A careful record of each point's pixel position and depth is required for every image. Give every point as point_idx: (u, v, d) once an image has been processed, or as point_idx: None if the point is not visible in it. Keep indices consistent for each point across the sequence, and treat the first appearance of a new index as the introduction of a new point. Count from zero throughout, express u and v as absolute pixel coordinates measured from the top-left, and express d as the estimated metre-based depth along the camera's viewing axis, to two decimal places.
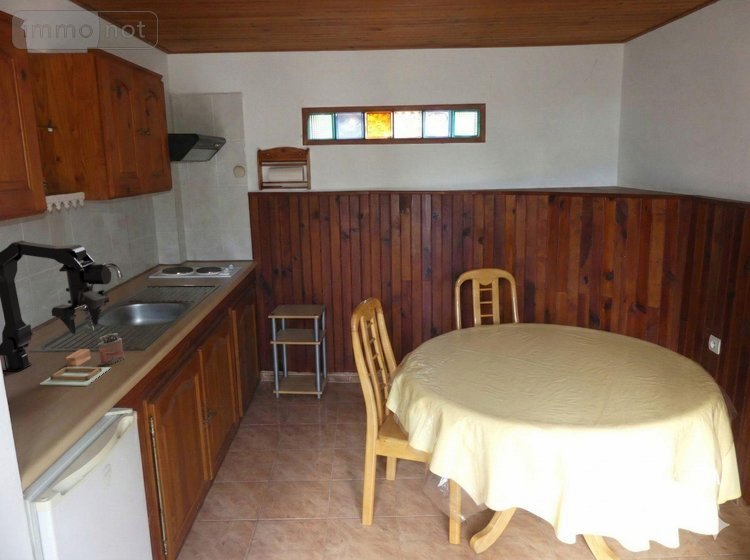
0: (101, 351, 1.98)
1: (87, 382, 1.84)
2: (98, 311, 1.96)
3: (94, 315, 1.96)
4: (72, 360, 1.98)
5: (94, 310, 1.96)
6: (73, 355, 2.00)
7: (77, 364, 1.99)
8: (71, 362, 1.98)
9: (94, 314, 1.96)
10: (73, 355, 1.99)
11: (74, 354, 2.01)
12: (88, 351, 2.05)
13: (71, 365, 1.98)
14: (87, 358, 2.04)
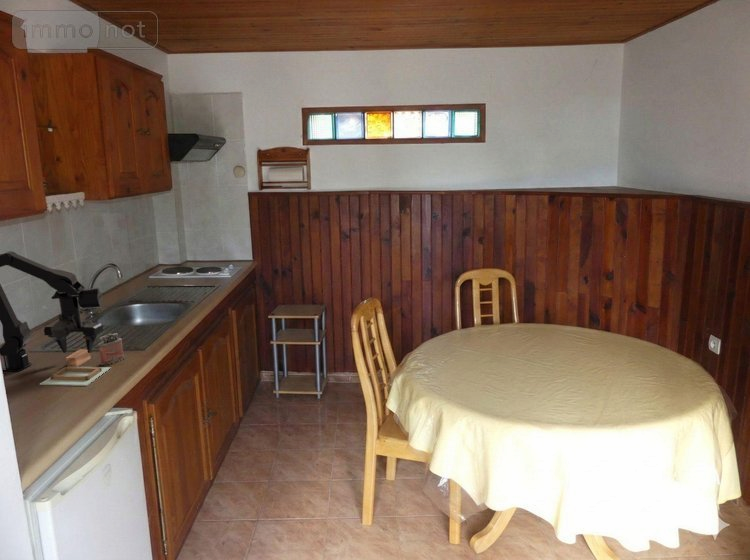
0: (101, 351, 1.98)
1: (87, 382, 1.84)
2: (87, 341, 1.98)
3: None
4: (72, 360, 1.98)
5: None
6: (73, 355, 2.00)
7: (77, 364, 1.99)
8: (71, 362, 1.98)
9: None
10: (73, 356, 1.99)
11: (74, 354, 2.01)
12: None
13: (71, 365, 1.98)
14: (87, 358, 2.04)
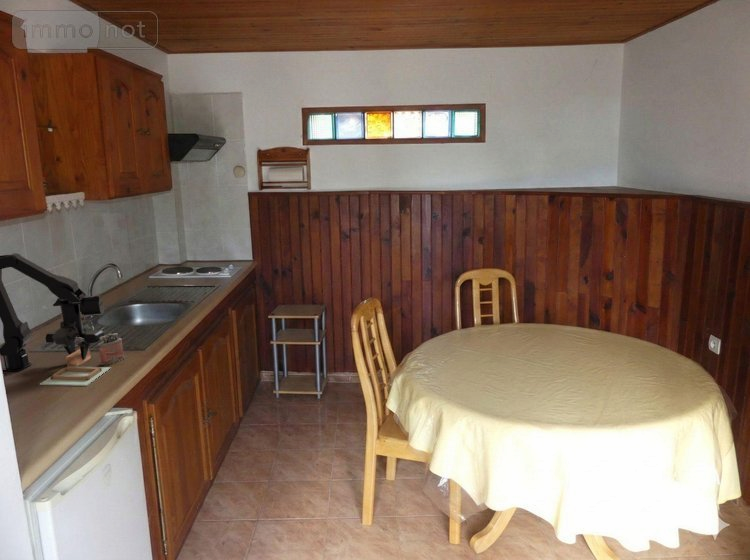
0: (101, 351, 1.98)
1: (87, 382, 1.84)
2: (81, 348, 1.99)
3: None
4: (72, 359, 1.98)
5: None
6: (73, 354, 2.00)
7: (77, 363, 1.99)
8: (71, 361, 1.98)
9: None
10: (73, 355, 1.99)
11: (74, 353, 2.01)
12: (88, 351, 2.05)
13: (71, 364, 1.98)
14: (87, 357, 2.04)
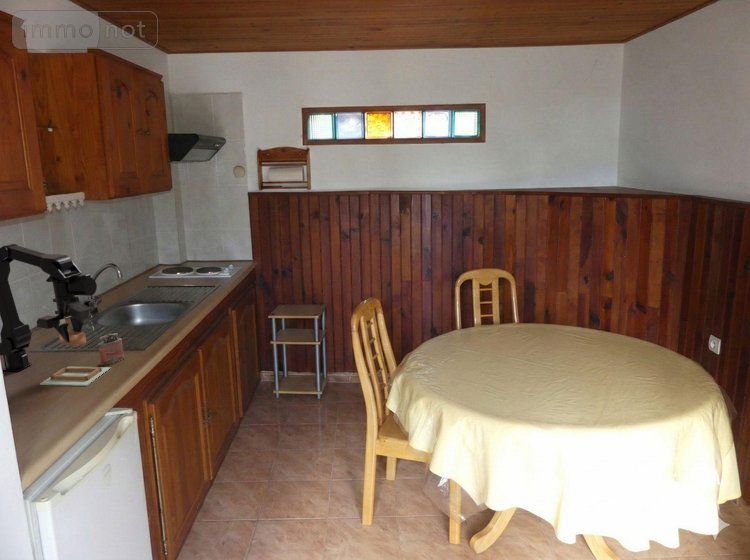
0: (101, 351, 1.98)
1: (87, 382, 1.84)
2: (80, 324, 1.91)
3: (76, 328, 1.92)
4: (81, 336, 1.89)
5: (76, 323, 1.92)
6: (74, 334, 1.89)
7: None
8: (80, 339, 1.89)
9: (76, 327, 1.92)
10: (76, 334, 1.89)
11: (72, 334, 1.89)
12: None
13: (81, 342, 1.89)
14: None
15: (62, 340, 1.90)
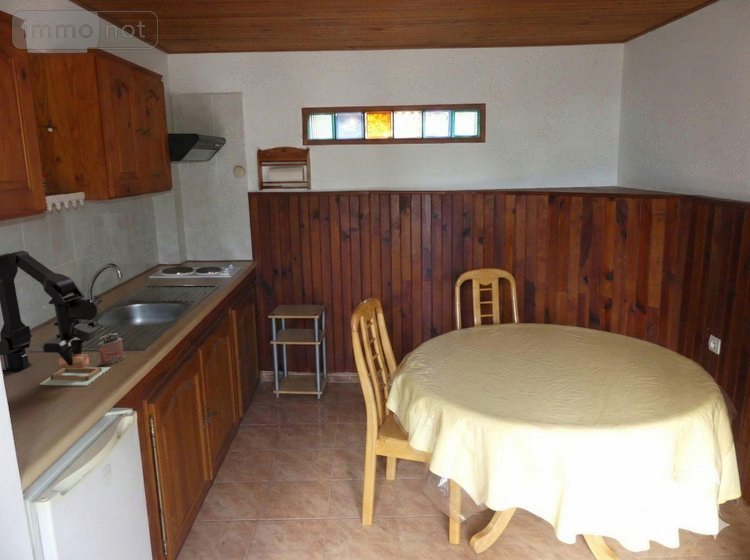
0: (101, 351, 1.98)
1: (87, 382, 1.84)
2: (81, 346, 1.90)
3: (76, 350, 1.90)
4: (85, 358, 1.88)
5: (76, 345, 1.90)
6: (77, 356, 1.88)
7: None
8: (85, 361, 1.88)
9: (76, 349, 1.90)
10: (79, 356, 1.88)
11: (74, 356, 1.88)
12: None
13: (85, 364, 1.88)
14: None
15: (63, 364, 1.87)
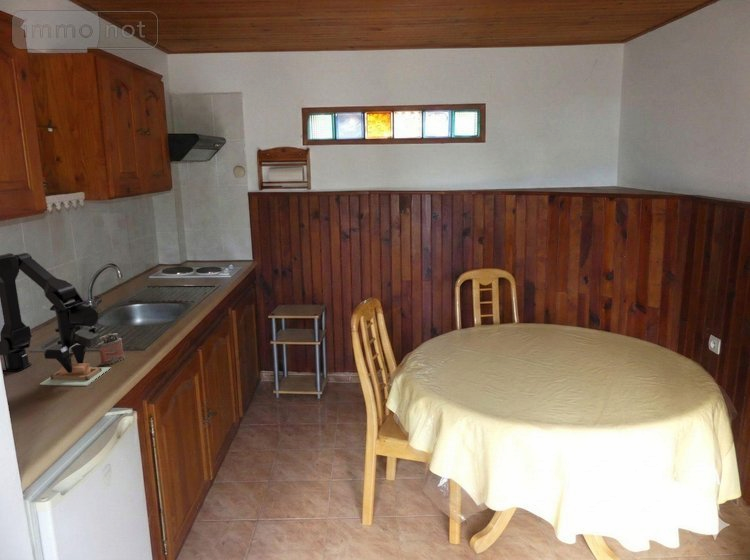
0: (101, 351, 1.98)
1: (87, 382, 1.84)
2: (83, 351, 1.91)
3: (79, 355, 1.91)
4: (87, 367, 1.89)
5: (79, 350, 1.91)
6: (79, 365, 1.88)
7: None
8: (86, 370, 1.89)
9: (79, 354, 1.91)
10: (81, 365, 1.89)
11: (76, 366, 1.88)
12: None
13: (87, 373, 1.89)
14: None
15: (64, 373, 1.88)
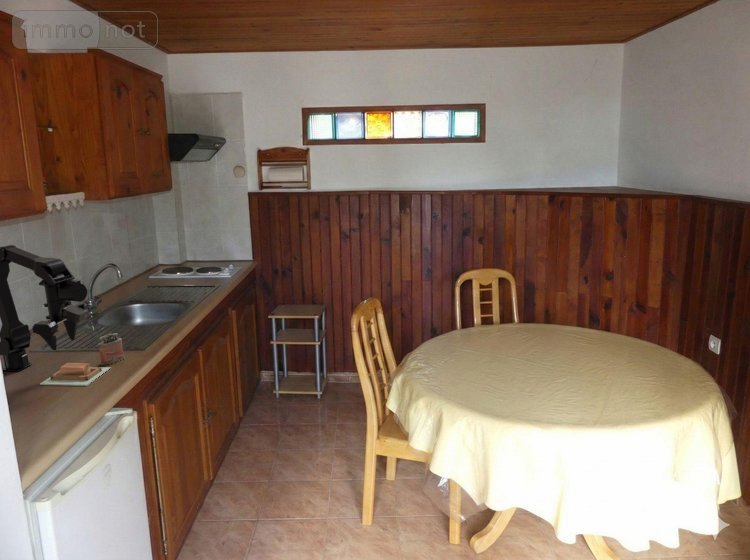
0: (101, 351, 1.98)
1: (87, 382, 1.84)
2: (75, 325, 1.93)
3: (71, 330, 1.92)
4: (87, 367, 1.89)
5: (71, 325, 1.92)
6: (79, 365, 1.88)
7: None
8: (86, 370, 1.89)
9: (71, 329, 1.92)
10: (81, 365, 1.89)
11: (76, 366, 1.88)
12: None
13: (87, 373, 1.89)
14: None
15: (64, 373, 1.88)
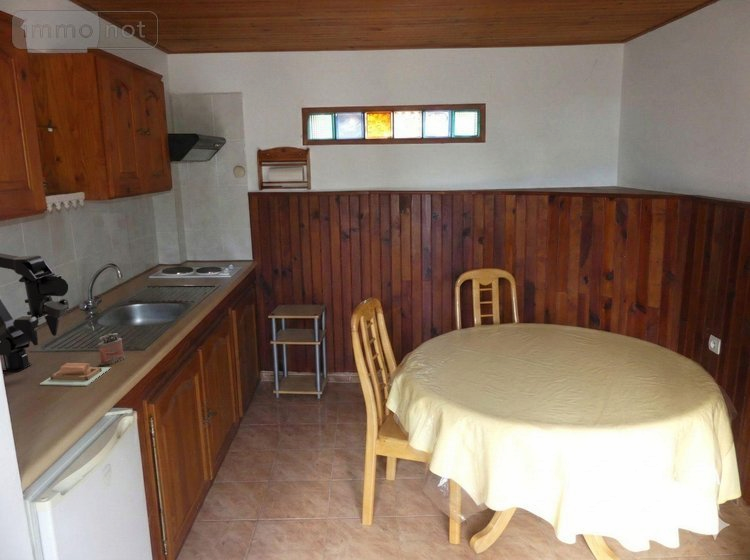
0: (101, 351, 1.98)
1: (87, 382, 1.84)
2: (57, 321, 1.96)
3: (53, 325, 1.96)
4: (87, 367, 1.89)
5: (52, 320, 1.96)
6: (79, 365, 1.88)
7: None
8: (86, 370, 1.89)
9: (53, 324, 1.96)
10: (81, 365, 1.89)
11: (76, 366, 1.88)
12: None
13: (87, 373, 1.89)
14: None
15: (64, 373, 1.88)
